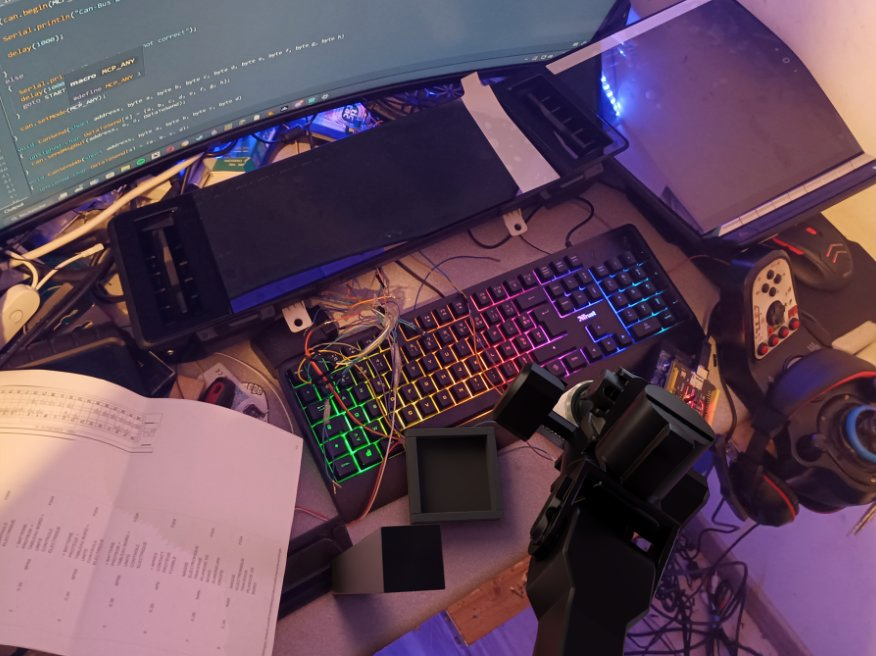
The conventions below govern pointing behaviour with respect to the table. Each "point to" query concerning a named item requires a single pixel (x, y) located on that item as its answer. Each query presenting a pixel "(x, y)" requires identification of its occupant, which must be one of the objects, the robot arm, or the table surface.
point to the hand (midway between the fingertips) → (599, 410)
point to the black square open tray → (453, 475)
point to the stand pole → (392, 562)
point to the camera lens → (574, 403)
